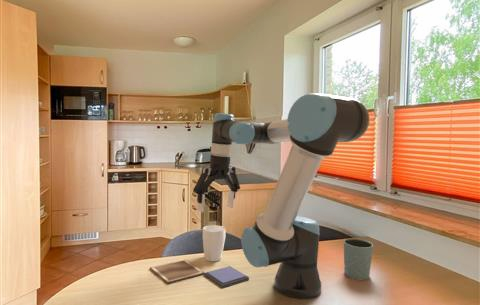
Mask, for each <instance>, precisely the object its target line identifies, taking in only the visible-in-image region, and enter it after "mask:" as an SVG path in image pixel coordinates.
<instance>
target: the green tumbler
mask: <svg viewBox="0 0 480 305" xmlns="http://www.w3.org/2000/svg"><path fill="white" fill-rule="evenodd" d="M373 250H374V244H373V243H372V242H371V241H368V240H365V239H362V238H345V239H344V240H343V263H344V264H343V265H344V269H343V271H344V275H345V276H346V277H348V278H350V279H353V280H358V281H365V280H368V279H369V277H370V275H371V274H370V273H371V272H370V271H371V267H372V266H371V264H372V256H373V255H372V254H373Z"/></svg>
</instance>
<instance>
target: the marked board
mask: <svg viewBox="0 0 480 305" xmlns="http://www.w3.org/2000/svg"><path fill="white" fill-rule="evenodd" d="M149 270H150V271H152V272H153V273H154V274H155V275H156V276H157V277H158V278H160V279H161V280H162V281H163V282H164V283H165V284H166V285H171V284H174V283H178V282H182V281H185V280H188V279H194V278H197V277H200V276H205V275H204V273H205V271H203V270H201V269H200V268H199V267H197V266H195V265H194V264H192V263H191V262H190V261H188V260H187V259H184V258H183V259H179V260H176V261H172V262H167V263H162V264H159V265H158V264H157V265H155V266H151V267H149Z"/></svg>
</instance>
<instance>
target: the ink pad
mask: <svg viewBox="0 0 480 305" xmlns="http://www.w3.org/2000/svg"><path fill="white" fill-rule="evenodd" d="M203 276H204V277H205V278H207V279H208V280H211V281H212V282H213V283H215V284H216V285H217V286H219V287H221V289H224V288H227V287H229V286H233V285H236V284H240V283H242V282H246V281H249V280H250V277H249V276H247V275H246V274H244V273H242V272H241V271H239V270H237V269H235V268H234V267H232V266H230V265H229V266H225V267H222V268H218V269H215V270H210V271H207V272H204V275H203Z"/></svg>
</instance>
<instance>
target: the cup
mask: <svg viewBox="0 0 480 305" xmlns="http://www.w3.org/2000/svg"><path fill="white" fill-rule="evenodd" d="M226 235H227V234H226V227H225V226H222V225H218V224H211V225H206V226H203V227H202V245H203V255H204V257H203V258H204V260H206V261H208V262H219V261H220V260H221V261H222V259H223V258H222V257H223V254H224V252H223V251H224V246H225V241H226Z"/></svg>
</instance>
